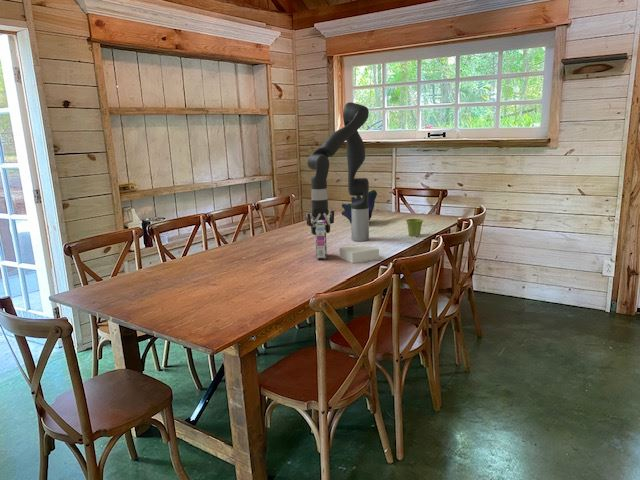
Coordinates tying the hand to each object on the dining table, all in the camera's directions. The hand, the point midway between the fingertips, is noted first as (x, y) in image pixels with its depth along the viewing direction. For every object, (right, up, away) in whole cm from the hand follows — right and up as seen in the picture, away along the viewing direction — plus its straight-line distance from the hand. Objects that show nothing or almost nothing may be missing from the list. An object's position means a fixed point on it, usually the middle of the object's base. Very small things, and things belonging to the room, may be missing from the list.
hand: (320, 233), depth 221 cm
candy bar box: (0, -11, +2) cm, 11 cm away
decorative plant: (+25, +8, +84) cm, 88 cm away
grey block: (+18, -12, -2) cm, 21 cm away
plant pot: (+52, -1, +41) cm, 66 cm away
